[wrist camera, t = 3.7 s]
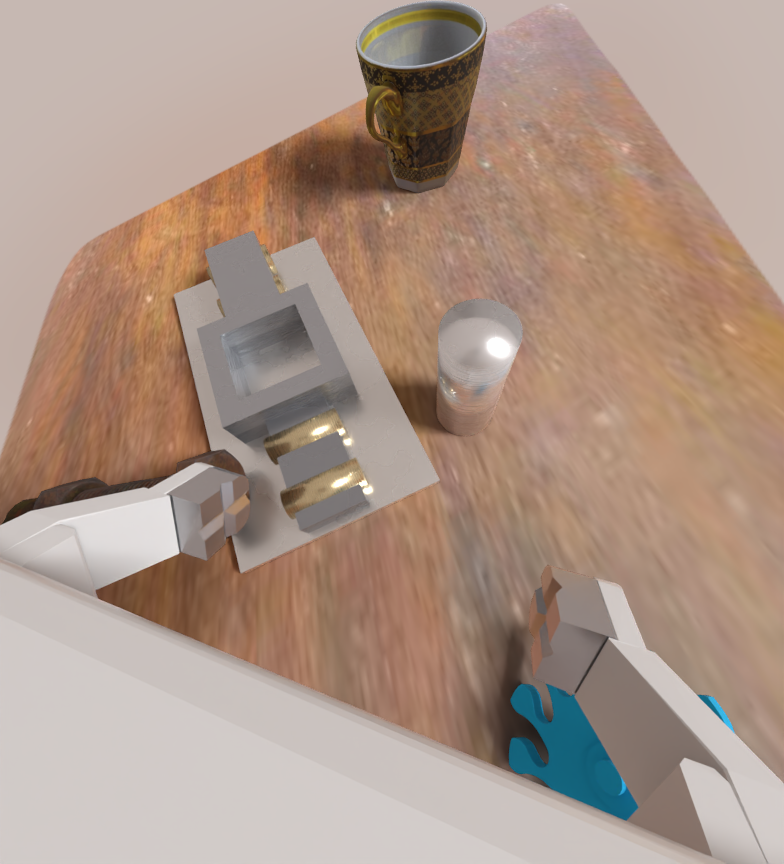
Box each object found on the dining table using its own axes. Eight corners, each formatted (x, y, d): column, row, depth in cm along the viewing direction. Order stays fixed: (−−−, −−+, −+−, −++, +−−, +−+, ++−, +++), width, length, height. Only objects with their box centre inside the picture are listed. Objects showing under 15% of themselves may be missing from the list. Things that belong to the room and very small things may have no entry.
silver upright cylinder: (452, 445, 24) (462, 379, 16) (427, 399, 26) (424, 318, 18) (503, 421, 25) (539, 344, 16) (475, 378, 26) (495, 287, 18)
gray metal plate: (245, 573, 23) (213, 573, 19) (178, 299, 33) (149, 267, 29) (439, 482, 24) (440, 467, 20) (316, 242, 34) (303, 206, 30)
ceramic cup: (406, 132, 39) (397, -6, 29) (489, 152, 36) (509, 6, 27) (340, 207, 35) (308, 77, 26) (427, 236, 32) (426, 102, 23)
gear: (535, 595, 19) (827, 746, 11) (587, 612, 22) (846, 740, 14) (466, 820, 17) (755, 1226, 9) (533, 804, 20) (796, 1094, 12)
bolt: (81, 520, 27) (260, 492, 25) (28, 582, 23) (236, 555, 21) (16, 467, 24) (218, 430, 22) (-60, 531, 20) (180, 492, 18)
